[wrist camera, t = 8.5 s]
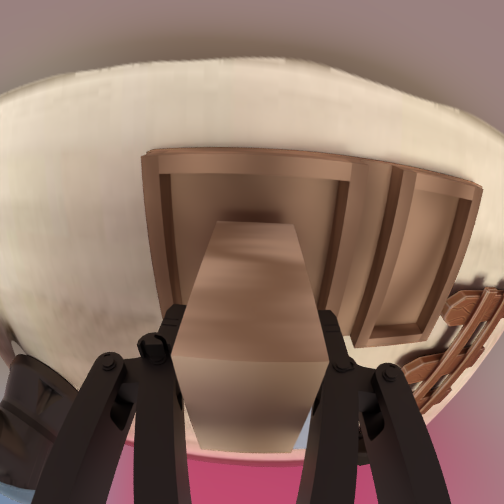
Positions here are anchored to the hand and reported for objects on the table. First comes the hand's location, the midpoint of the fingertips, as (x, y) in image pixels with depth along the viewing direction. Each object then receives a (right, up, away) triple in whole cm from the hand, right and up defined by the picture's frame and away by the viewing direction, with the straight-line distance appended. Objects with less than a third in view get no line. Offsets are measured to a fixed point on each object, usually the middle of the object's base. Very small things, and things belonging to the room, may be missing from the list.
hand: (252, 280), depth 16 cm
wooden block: (0, 0, 0) cm, 0 cm away
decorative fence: (+23, -11, +9) cm, 27 cm away
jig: (+5, +1, +3) cm, 7 cm away
